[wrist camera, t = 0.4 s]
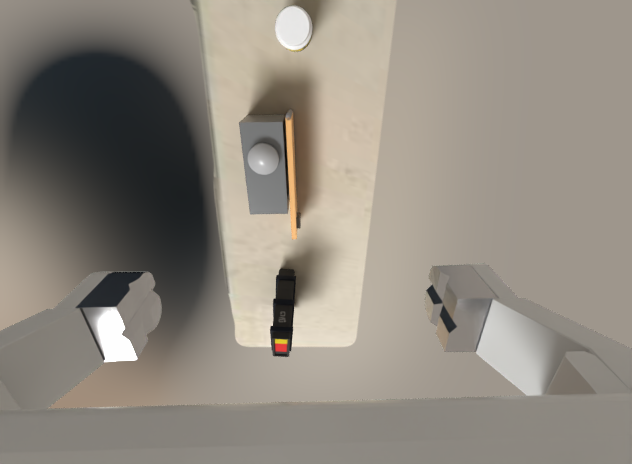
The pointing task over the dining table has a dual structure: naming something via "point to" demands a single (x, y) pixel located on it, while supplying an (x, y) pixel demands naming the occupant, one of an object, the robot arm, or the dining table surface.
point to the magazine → (283, 313)
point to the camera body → (266, 163)
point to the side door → (292, 173)
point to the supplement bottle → (293, 28)
